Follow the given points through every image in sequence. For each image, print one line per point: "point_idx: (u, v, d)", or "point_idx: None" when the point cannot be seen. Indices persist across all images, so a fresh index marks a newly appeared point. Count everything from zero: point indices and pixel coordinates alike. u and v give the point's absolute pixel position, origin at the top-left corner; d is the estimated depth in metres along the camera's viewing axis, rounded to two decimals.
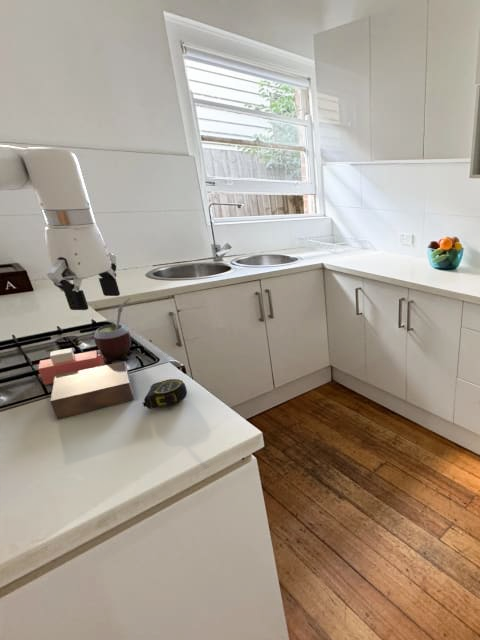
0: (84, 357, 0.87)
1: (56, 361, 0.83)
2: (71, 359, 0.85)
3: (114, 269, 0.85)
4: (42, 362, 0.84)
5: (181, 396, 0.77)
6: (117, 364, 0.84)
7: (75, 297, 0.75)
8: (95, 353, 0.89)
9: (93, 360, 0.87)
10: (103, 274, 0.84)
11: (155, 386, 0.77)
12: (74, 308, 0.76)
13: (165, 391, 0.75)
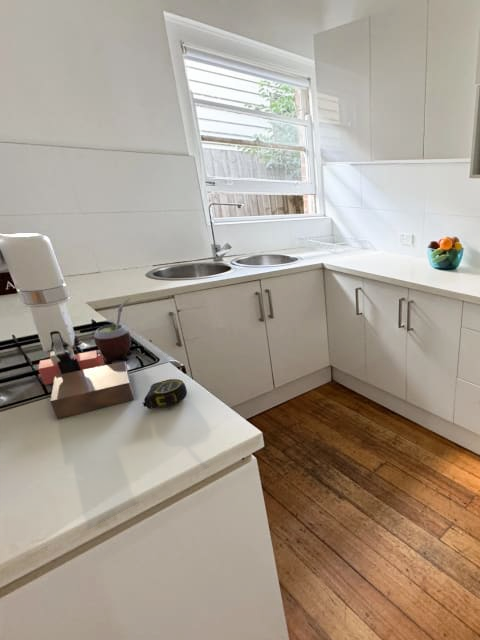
0: (84, 357, 0.87)
1: (56, 361, 0.83)
2: None
3: None
4: (42, 362, 0.84)
5: (181, 396, 0.77)
6: (117, 364, 0.84)
7: (72, 366, 0.84)
8: (95, 353, 0.89)
9: (93, 360, 0.87)
10: (63, 347, 0.87)
11: (155, 386, 0.77)
12: None
13: (165, 391, 0.75)
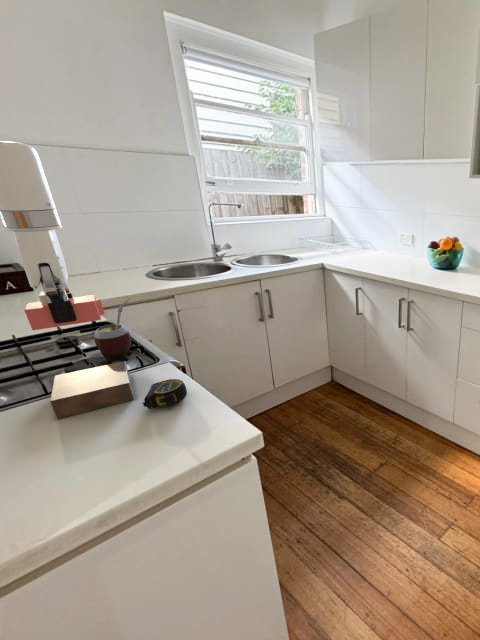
0: (80, 300, 0.74)
1: (46, 303, 0.71)
2: None
3: None
4: (30, 305, 0.71)
5: (181, 396, 0.77)
6: (117, 364, 0.84)
7: (66, 308, 0.71)
8: (92, 297, 0.76)
9: (90, 304, 0.74)
10: None
11: (155, 386, 0.77)
12: (60, 321, 0.71)
13: (165, 391, 0.75)
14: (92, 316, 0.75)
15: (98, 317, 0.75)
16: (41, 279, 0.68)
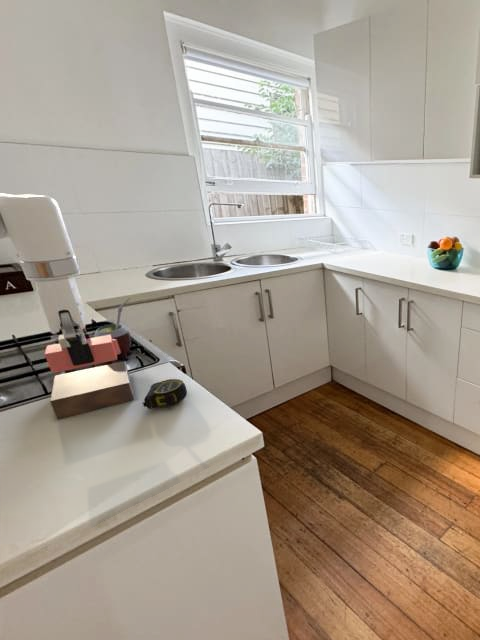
0: (97, 342, 0.76)
1: (65, 346, 0.73)
2: None
3: None
4: (49, 347, 0.73)
5: (181, 396, 0.77)
6: (117, 364, 0.84)
7: (84, 351, 0.73)
8: (109, 337, 0.78)
9: (107, 345, 0.76)
10: None
11: (155, 386, 0.77)
12: (78, 363, 0.73)
13: (165, 391, 0.75)
14: (109, 356, 0.77)
15: (115, 357, 0.77)
16: (61, 324, 0.70)
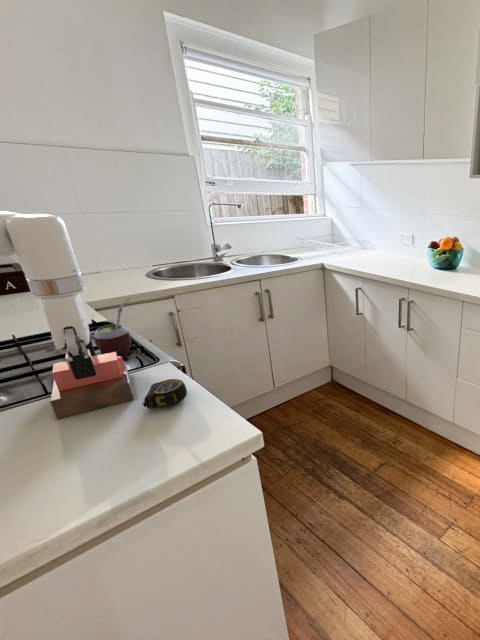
0: (103, 359, 0.77)
1: None
2: None
3: None
4: (56, 366, 0.74)
5: (181, 396, 0.77)
6: None
7: (86, 365, 0.72)
8: (114, 355, 0.79)
9: (112, 363, 0.77)
10: None
11: (155, 386, 0.77)
12: (80, 377, 0.73)
13: (165, 391, 0.75)
14: (114, 374, 0.78)
15: (120, 374, 0.79)
16: (66, 340, 0.71)
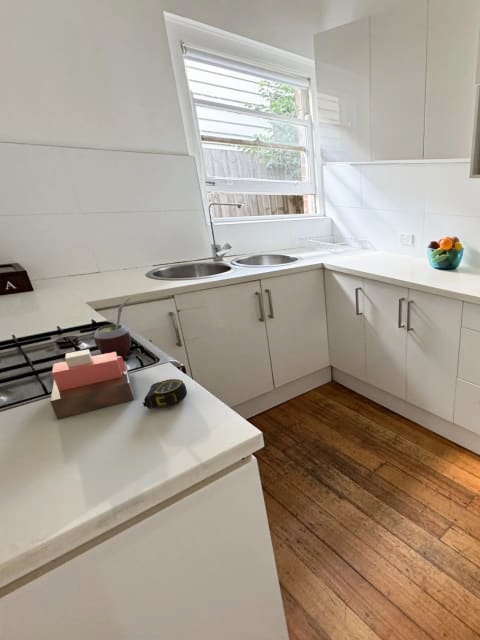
0: (103, 359, 0.77)
1: (72, 364, 0.74)
2: (88, 362, 0.76)
3: None
4: (56, 366, 0.74)
5: (181, 396, 0.77)
6: None
7: None
8: (114, 355, 0.79)
9: (112, 363, 0.77)
10: None
11: (155, 386, 0.77)
12: None
13: (165, 391, 0.75)
14: (114, 374, 0.78)
15: (120, 374, 0.79)
16: None
